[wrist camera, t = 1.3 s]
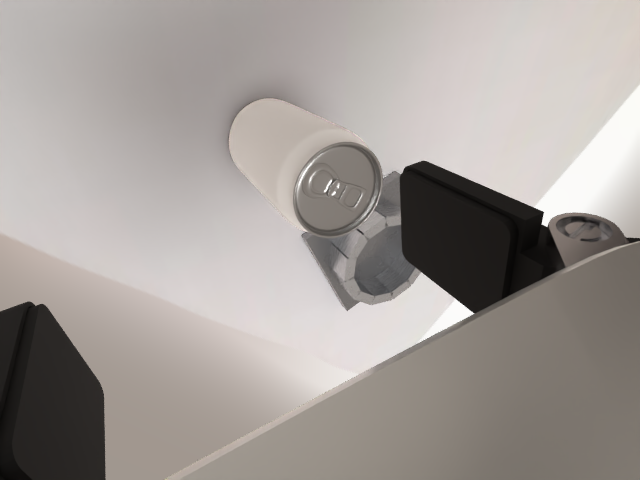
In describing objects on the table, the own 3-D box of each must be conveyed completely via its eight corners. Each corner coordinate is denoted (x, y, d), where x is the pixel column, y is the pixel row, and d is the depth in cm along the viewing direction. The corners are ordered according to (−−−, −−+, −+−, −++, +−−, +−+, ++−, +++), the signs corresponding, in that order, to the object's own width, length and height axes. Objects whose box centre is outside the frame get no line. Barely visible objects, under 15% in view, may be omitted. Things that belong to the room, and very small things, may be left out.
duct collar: (394, 171, 38) (421, 184, 35) (420, 248, 45) (444, 266, 42) (301, 235, 37) (320, 255, 34) (342, 305, 43) (361, 328, 40)
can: (249, 80, 29) (323, 111, 19) (318, 120, 32) (408, 162, 23) (212, 160, 30) (265, 226, 21) (282, 190, 34) (353, 257, 24)
